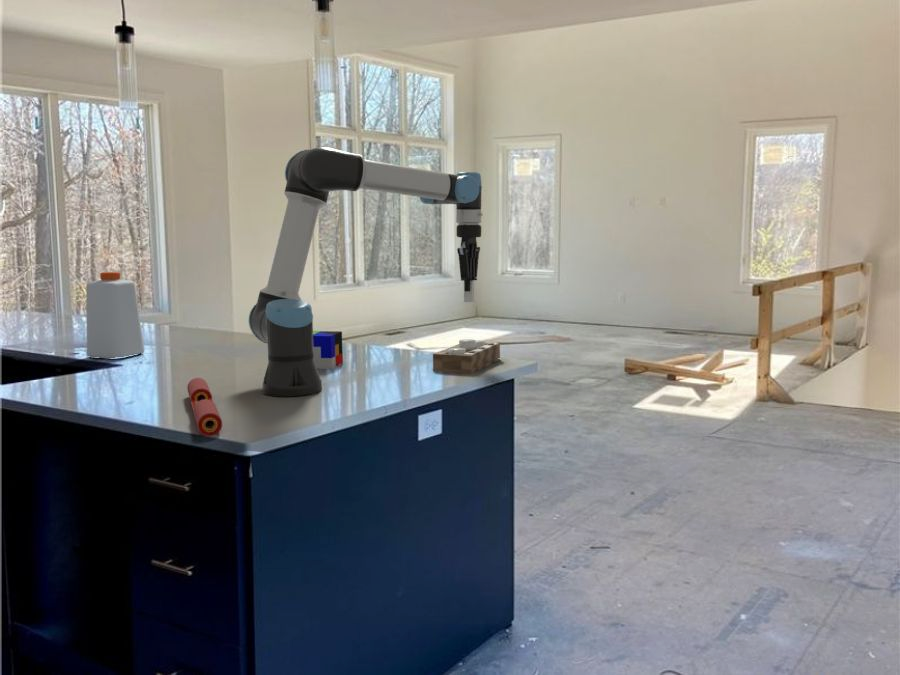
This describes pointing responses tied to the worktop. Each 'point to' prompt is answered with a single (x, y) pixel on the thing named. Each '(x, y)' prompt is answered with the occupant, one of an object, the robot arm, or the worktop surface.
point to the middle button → (467, 344)
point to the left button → (457, 351)
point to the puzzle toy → (327, 349)
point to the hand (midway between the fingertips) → (469, 301)
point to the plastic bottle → (112, 317)
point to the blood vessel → (204, 407)
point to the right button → (480, 343)
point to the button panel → (466, 359)
